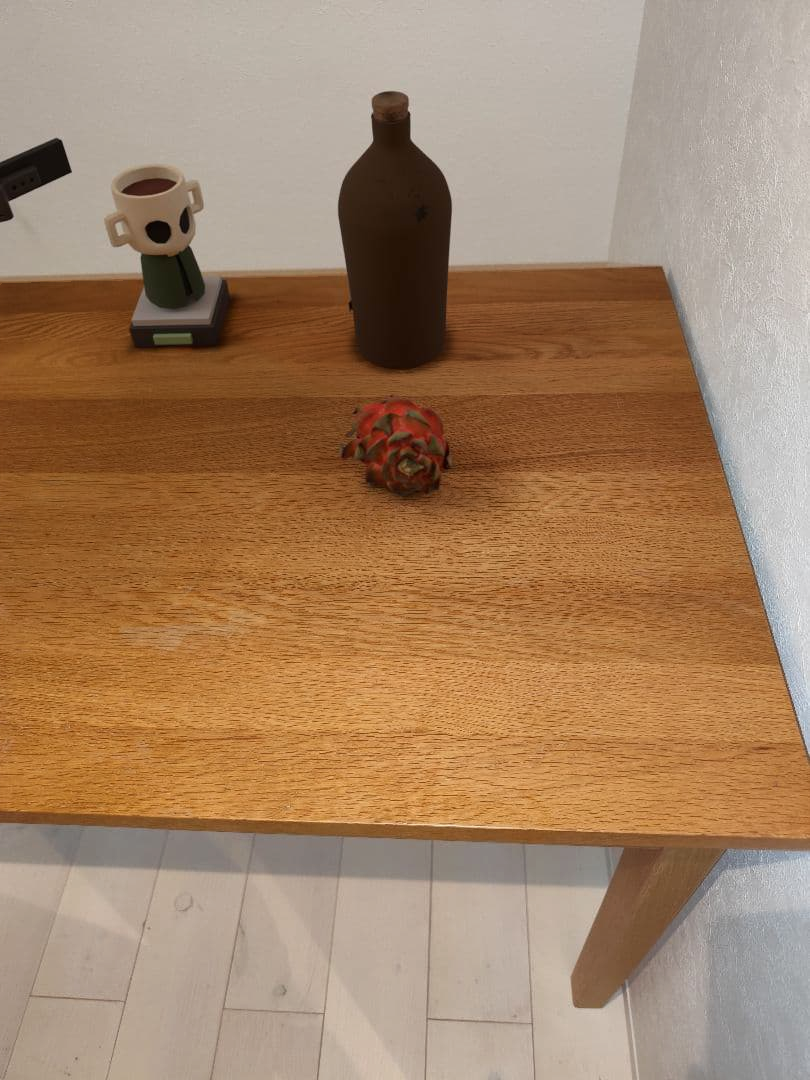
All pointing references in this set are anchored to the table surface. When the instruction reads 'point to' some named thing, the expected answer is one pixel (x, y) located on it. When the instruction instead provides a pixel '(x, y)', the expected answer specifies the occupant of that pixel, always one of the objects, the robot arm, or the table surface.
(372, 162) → the olive oil
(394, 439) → the dragon fruit
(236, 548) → the table surface
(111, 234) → the character mug
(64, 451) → the table surface
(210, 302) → the scale
